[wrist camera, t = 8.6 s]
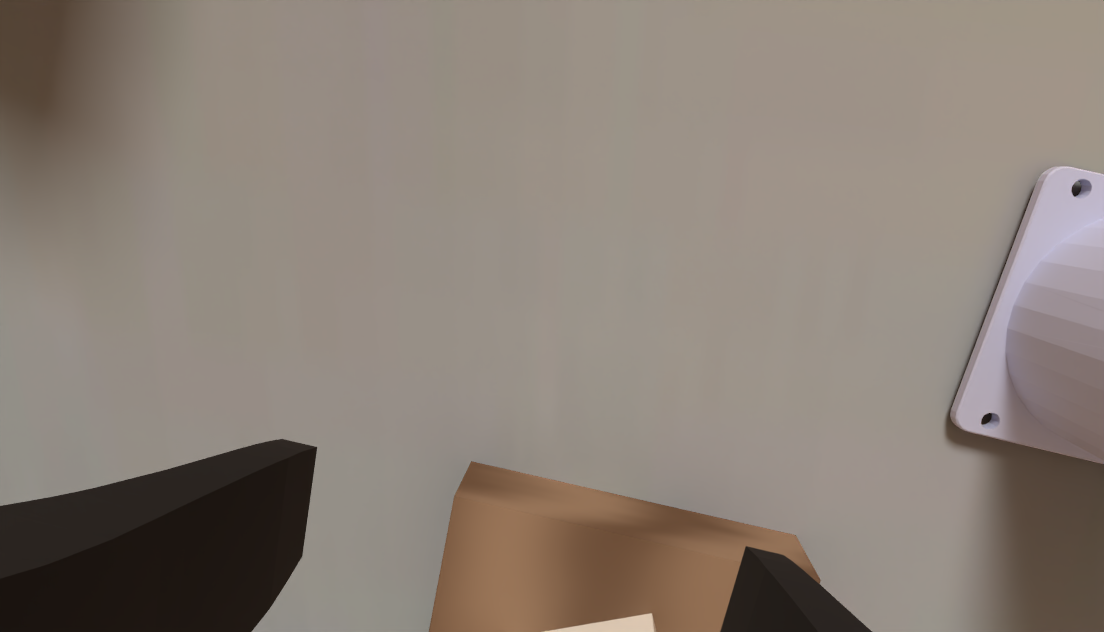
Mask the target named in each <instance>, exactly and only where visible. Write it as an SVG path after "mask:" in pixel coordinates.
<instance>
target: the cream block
mask: <svg viewBox="0 0 1104 632" xmlns="http://www.w3.org/2000/svg"><path fill="white" fill-rule="evenodd" d="M544 632H656V627H655V623H654V619H653V615H652V613H650V614H644V615H638V616H632V617H627V618H621V619H615V620H609V621H603V622H597V623H591V624H585V625H579V626H573V627H568V628H562V629H556V630H550V631H544Z"/></svg>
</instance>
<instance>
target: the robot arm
mask: <svg viewBox="0 0 1104 632" xmlns="http://www.w3.org/2000/svg"><path fill="white" fill-rule="evenodd" d="M1076 181H1079V182H1080V184H1081V191H1080V193H1079V194H1078V195H1077V196H1076V197H1074V196H1073V194H1072V192H1071V190H1072V186H1073V184H1074V183H1075V182H1076ZM987 413H992V419H991V420H990V421H989V422H988V423H986V424H984V425H982V424H981V419H982V418H983V416H984V415H986V414H987ZM950 416H951V420H952V422H953V423H954V424H955V425H956V426H957V427H959V428H960V429H962V430H964V431H966V432H970V433H974V434H978V435H983V436H987V437H991V438H995V439H999V440H1004V441H1008V442H1012V443H1016V444H1021V445H1025V446H1029V447H1033V448H1037V449H1042V450H1046V451H1050V452H1054V453H1058V454H1063V455H1067V456H1071V457H1075V458H1079V459H1084V460H1088V461H1092V462H1096V463H1100V464H1104V174H1100V173H1095V172H1091V171H1086V170H1082V169H1077V168H1073V167H1053V168H1050V169H1047V170H1046V171H1045V172H1043V173H1042V174H1041V175H1040V177H1039V179H1038V180H1037V183H1036V185H1035V188H1034V191H1033V193H1032V196H1031V199H1030V201H1029V204H1028V207H1027V209H1026V212H1025V215H1024V217H1023V220H1022V223H1021V225H1020V228H1019V230H1018V233H1017V236H1016V238H1015V241H1014V244H1013V246H1012V249H1011V252H1010V254H1009V257H1008V260H1007V262H1006V265H1005V268H1004V270H1003V273H1002V276H1001V278H1000V281H999V284H998V286H997V289H996V292H995V294H994V297H993V299H992V302H991V305H990V307H989V310H988V313H987V315H986V318H985V321H984V323H983V326H982V329H981V331H980V334H979V337H978V339H977V342H976V345H975V347H974V350H973V353H972V355H971V358H970V361H969V363H968V366H967V368H966V371H965V374H964V376H963V379H962V382H961V384H960V387H959V390H958V392H957V395H956V398H955V400H954V403H953V406H952V408H951V413H950ZM316 451H317V447H314V446H310V445H305V444H301V443H297V442H292V441H288V440H284V439H280V440H273V441H268V442H264V443H259V444H255V445H252V446H248V447H244V448H241V449H237V450H233V451H230V452H227V453H223V454H220V455H216V456H213V457H209V458H206V459H202V460H199V461H195V462H192V463H188V464H185V465H181V466H178V467H174V468H171V469H167V470H164V471H160V472H156V473H152V474H148V475H144V476H140V477H136V478H132V479H128V480H124V481H120V482H116V483H112V484H108V485H104V486H101V487H97V488H92V489H88V490H83V491H79V492H74V493H69V494H64V495H59V496H54V497H49V498H43V499H38V500H32V501H27V502H21V503H15V504H10V505H4V506H0V632H251V631H252V630H253V629H254V628H255V626H256V625H257V624H258V623H259V621H260V620H261V619H262V618H263V616H264V615H265V614H266V613H267V611H268V610H269V609H270V607H271V606H272V604H273V603H274V601H275V599H276V598H277V596H278V595H279V593H280V592H281V590H282V589H283V587H284V585H285V584H286V582H287V581H288V579H289V577H290V576H291V574H292V572H293V571H294V569H295V567H296V566H297V564H298V562H299V561H300V559H301V557H302V554H303V546H304V539H305V532H306V524H307V517H308V510H309V502H310V495H311V488H312V480H313V473H314V466H315V459H316ZM720 632H872V631H871V630H869V629H868V628H867V627H866V626H865V625H864V624H863V623H862V622H861V621H859V620H858V619H857V618H856V617H855V616H854V615H853V614H852V613H851V612H849V611H848V610H847V609H846V608H845V607H844V606H843V605H842V604H841V603H840V602H838V601H837V600H836V599H835V598H834V597H833V596H832V595H831V594H830V593H829V592H827V591H826V590H825V589H824V588H823V587H822V586H821V585H820V584H819V583H818V582H816V581H815V580H814V579H813V578H812V577H811V576H810V575H808V574H807V573H806V572H805V571H804V570H803V569H801V568H800V567H799V566H798V565H797V564H795V563H794V562H793V561H792V560H790V559H789V558H787V557H786V556H785V555H782V554H778V553H774V552H769V551H765V550H761V549H756V548H752V547H748V546H746V547H745V550H744V554H743V557H742V561H741V564H740V567H739V571H738V574H737V577H736V581H735V584H734V587H733V591H732V594H731V597H730V601H729V604H728V607H727V611H726V614H725V617H724V621H723V624H722V627H721V631H720Z"/></svg>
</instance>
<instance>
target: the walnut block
mask: <svg viewBox="0 0 1104 632" xmlns="http://www.w3.org/2000/svg"><path fill="white" fill-rule="evenodd" d="M746 546H748V547H752V548H756V549H761V550H765V551H769V552H774V553H778V554H782V555H785V556H786V557H787V558H789V559H790V560H792V561H793V562H794V563H795V564H797V565H798V566H799V567H800V568H801V569H803V570H804V571H805V572H806V573H807V574H808V575H810V576H811V577H812V578H813V579H814V580H815V581H816V582H818V583H819V584H820V581H821V580H820V578H819V577H818V575H817V573H816V571H815V569H814V568H813V566H812V564H811V562H810V560H809V559H808V557H807V555H806V553H805V551H804V550H803V548H802V546H801V544H800V542H799V541H798V539H797V537H796V535H792V534H788V533H783V532H779V531H775V530H770V529H766V528H761V527H757V526H753V525H748V524H744V523H739V522H735V521H731V520H726V519H722V518H717V517H713V516H709V515H704V514H700V513H696V512H691V511H687V510H682V509H678V508H674V507H669V506H665V505H660V504H656V503H652V502H647V501H643V500H638V499H634V498H630V497H625V496H621V495H617V494H612V493H608V492H603V491H599V490H595V489H590V488H586V487H581V486H577V485H573V484H568V483H564V482H559V481H555V480H551V479H546V478H542V477H538V476H533V475H529V474H524V473H520V472H516V471H511V470H507V469H502V468H498V467H494V466H489V465H485V464H480V463H476V462H472V461H471V463H470V465H469V467H468V469H467V471H466V473H465V476H464V478H463V480H462V482H461V484H460V486H459V488H458V490H457V492H456V494H455V496H454V501H453V506H452V511H451V517H450V522H449V527H448V533H447V538H446V543H445V549H444V554H443V559H442V565H441V570H440V575H439V581H438V586H437V591H436V597H435V602H434V607H433V613H432V618H431V624H430V629H429V632H544V631H550V630H556V629H562V628H568V627H573V626H579V625H585V624H591V623H597V622H603V621H609V620H615V619H621V618H627V617H632V616H638V615H644V614H650V613H652V615H653V619H654V623H655V627H656V632H720V631H721V627H722V624H723V621H724V617H725V614H726V611H727V607H728V604H729V601H730V597H731V594H732V591H733V587H734V584H735V581H736V577H737V574H738V571H739V567H740V564H741V561H742V557H743V554H744V550H745V547H746Z"/></svg>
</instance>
